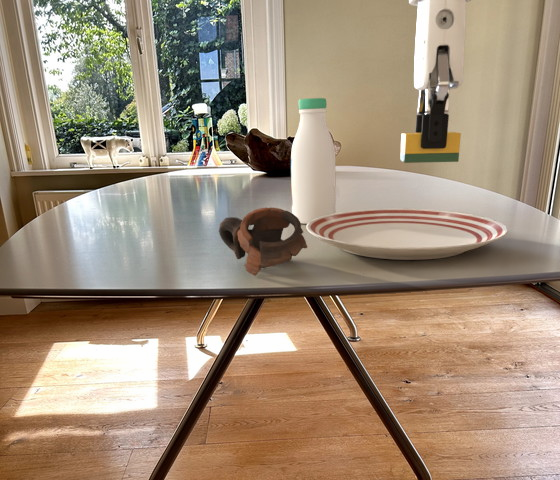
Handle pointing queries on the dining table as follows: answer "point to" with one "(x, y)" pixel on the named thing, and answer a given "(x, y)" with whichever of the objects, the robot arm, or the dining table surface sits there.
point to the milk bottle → (313, 164)
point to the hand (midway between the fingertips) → (429, 145)
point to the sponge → (416, 154)
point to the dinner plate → (406, 232)
